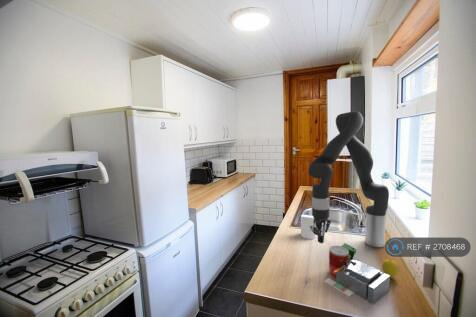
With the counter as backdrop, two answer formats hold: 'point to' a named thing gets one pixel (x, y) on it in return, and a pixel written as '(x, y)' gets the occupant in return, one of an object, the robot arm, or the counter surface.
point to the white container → (307, 227)
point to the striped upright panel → (339, 287)
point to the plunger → (344, 268)
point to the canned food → (337, 258)
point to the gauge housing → (364, 281)
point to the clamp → (350, 250)
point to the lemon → (390, 267)
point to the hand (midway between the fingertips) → (320, 242)
